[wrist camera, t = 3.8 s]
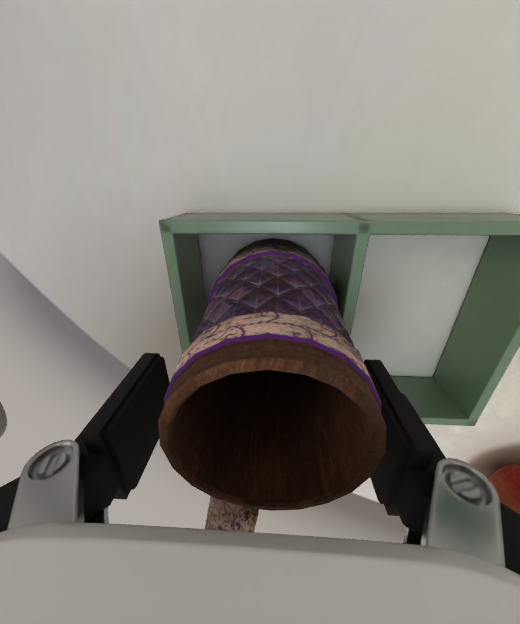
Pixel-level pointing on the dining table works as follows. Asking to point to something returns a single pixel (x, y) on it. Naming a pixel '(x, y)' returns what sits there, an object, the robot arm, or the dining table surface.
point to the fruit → (508, 486)
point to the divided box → (346, 282)
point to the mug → (271, 393)
